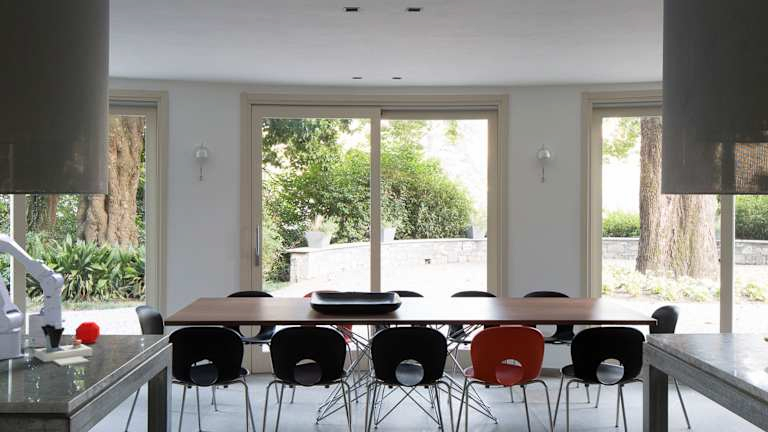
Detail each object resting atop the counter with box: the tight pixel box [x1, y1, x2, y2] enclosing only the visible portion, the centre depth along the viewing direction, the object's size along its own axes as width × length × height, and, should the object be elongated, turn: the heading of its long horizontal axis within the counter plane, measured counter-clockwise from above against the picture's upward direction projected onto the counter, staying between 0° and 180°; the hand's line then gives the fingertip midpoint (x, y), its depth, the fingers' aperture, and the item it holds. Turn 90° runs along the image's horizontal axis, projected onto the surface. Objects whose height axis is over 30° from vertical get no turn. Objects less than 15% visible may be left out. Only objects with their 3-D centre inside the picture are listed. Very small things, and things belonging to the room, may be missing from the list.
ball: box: [75, 321, 101, 344], centre depth 282 cm, size 8×8×8 cm
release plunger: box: [71, 339, 82, 349], centre depth 259 cm, size 3×3×4 cm
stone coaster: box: [52, 356, 90, 367], centre depth 246 cm, size 9×9×1 cm
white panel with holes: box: [34, 343, 93, 363], centre depth 256 cm, size 16×12×2 cm
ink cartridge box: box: [27, 307, 46, 348], centre depth 274 cm, size 10×6×14 cm, turn 89°
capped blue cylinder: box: [45, 334, 61, 353], centre depth 254 cm, size 4×4×8 cm
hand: (52, 346), depth 254 cm, fingers closed on capped blue cylinder, 4 cm apart
